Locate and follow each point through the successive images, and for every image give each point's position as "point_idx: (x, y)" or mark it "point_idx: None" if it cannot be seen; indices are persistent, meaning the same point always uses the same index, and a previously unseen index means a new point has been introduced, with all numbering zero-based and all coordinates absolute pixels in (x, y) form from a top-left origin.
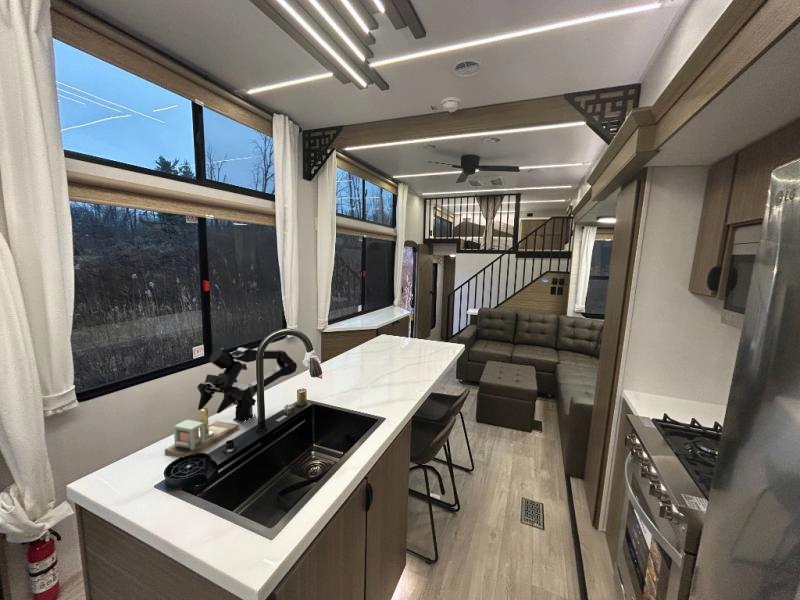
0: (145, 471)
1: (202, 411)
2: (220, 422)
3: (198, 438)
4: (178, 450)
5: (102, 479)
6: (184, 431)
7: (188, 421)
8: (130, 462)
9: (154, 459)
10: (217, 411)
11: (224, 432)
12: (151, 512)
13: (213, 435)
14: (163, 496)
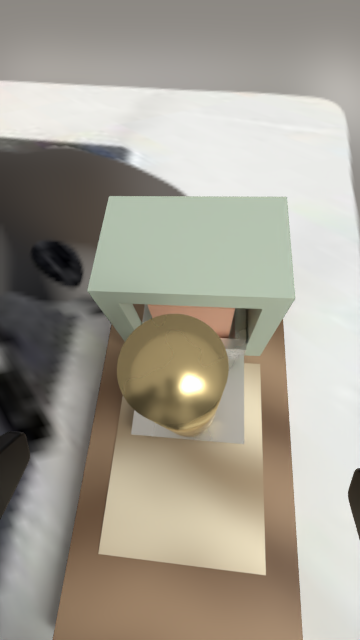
0: (227, 181)
1: (148, 323)
2: None
3: (144, 313)
4: None
5: (319, 130)
6: None
7: (244, 274)
8: (346, 199)
9: None
10: (5, 437)
11: (89, 486)
12: (52, 101)
13: None
14: (65, 133)
